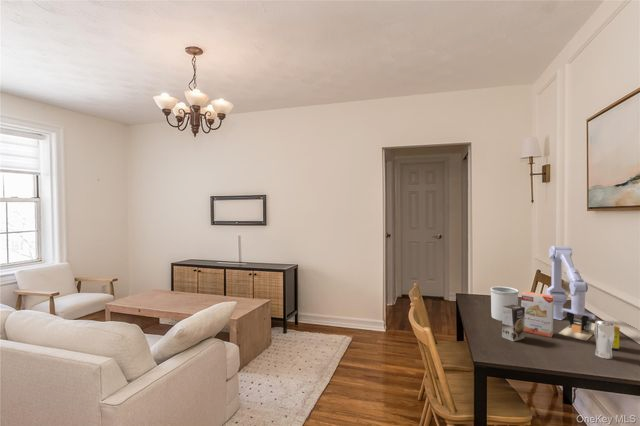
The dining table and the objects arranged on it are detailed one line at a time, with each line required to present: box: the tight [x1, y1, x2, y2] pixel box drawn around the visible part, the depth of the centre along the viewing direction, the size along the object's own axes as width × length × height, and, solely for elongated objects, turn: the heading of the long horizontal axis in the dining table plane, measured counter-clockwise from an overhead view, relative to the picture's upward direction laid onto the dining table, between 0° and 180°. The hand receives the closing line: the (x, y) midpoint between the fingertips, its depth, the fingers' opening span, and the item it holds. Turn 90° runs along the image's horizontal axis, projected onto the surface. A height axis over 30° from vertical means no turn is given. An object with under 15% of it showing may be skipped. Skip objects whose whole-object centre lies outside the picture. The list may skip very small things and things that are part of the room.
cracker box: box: [520, 290, 554, 338], centre depth 178 cm, size 14×6×21 cm, turn 50°
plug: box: [571, 323, 583, 333], centre depth 182 cm, size 11×4×3 cm, turn 129°
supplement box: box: [612, 324, 620, 351], centre depth 161 cm, size 6×6×11 cm
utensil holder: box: [490, 285, 519, 322], centre depth 201 cm, size 15×15×18 cm
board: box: [557, 322, 595, 342], centre depth 183 cm, size 12×34×1 cm, turn 129°
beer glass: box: [594, 320, 615, 360], centre depth 151 cm, size 7×7×15 cm
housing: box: [568, 317, 592, 332], centre depth 183 cm, size 9×4×5 cm, turn 39°
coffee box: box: [501, 304, 525, 342], centre depth 171 cm, size 9×6×16 cm
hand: (577, 328), depth 180 cm, fingers closed on plug, 4 cm apart
